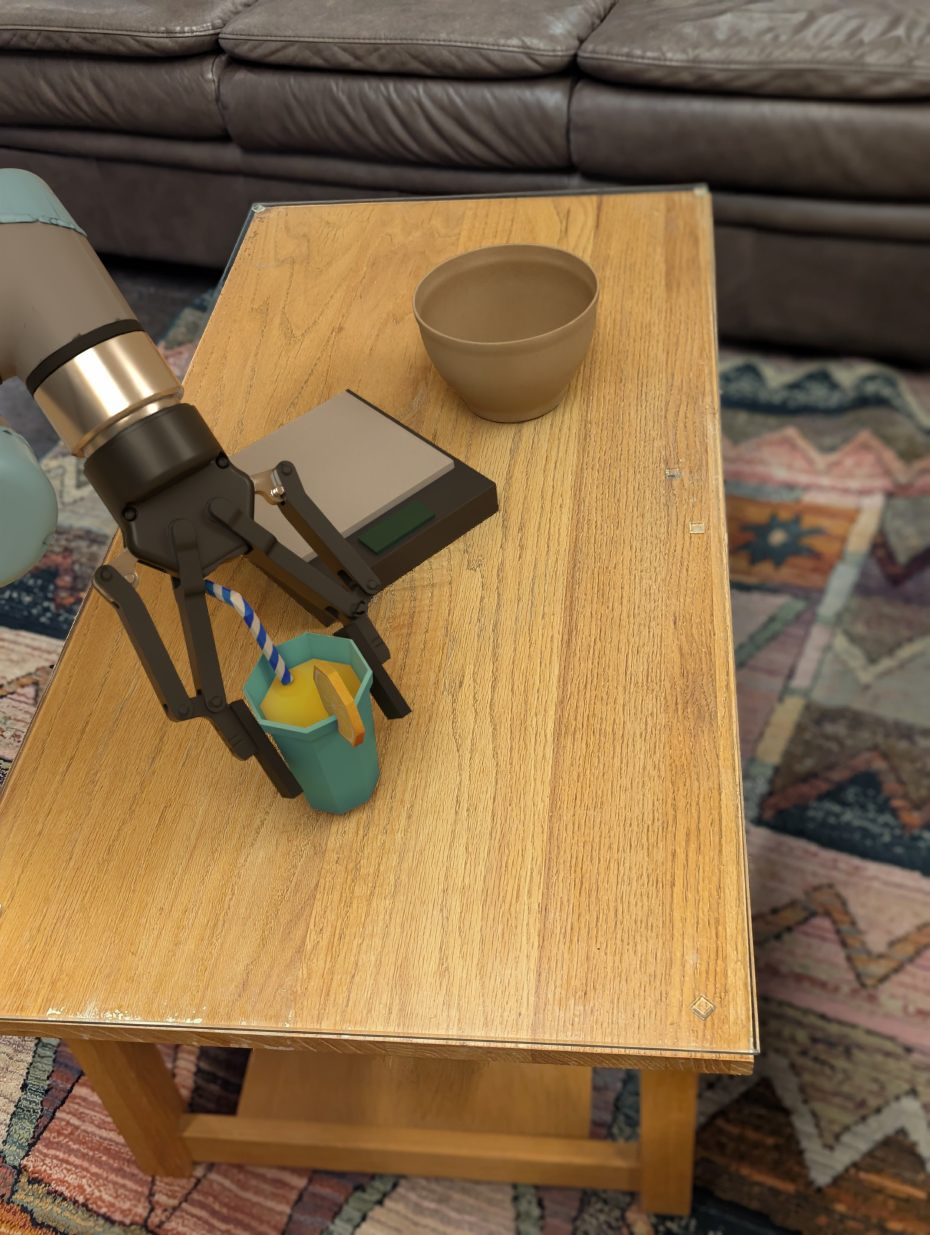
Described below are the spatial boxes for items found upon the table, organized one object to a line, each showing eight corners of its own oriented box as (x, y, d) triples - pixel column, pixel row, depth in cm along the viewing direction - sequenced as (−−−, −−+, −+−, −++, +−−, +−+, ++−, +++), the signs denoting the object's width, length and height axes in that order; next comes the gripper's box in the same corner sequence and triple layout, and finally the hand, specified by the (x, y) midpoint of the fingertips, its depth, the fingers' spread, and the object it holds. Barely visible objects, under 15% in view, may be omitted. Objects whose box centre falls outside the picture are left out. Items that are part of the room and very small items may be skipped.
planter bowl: (475, 332, 108) (464, 230, 100) (626, 362, 102) (627, 256, 94) (396, 425, 99) (377, 321, 91) (557, 465, 93) (552, 357, 85)
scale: (326, 627, 82) (317, 593, 80) (190, 510, 94) (178, 477, 91) (499, 510, 90) (495, 475, 87) (353, 414, 101) (346, 380, 98)
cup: (217, 762, 73) (148, 612, 62) (298, 688, 77) (246, 535, 66) (366, 872, 66) (318, 726, 55) (447, 785, 70) (417, 633, 59)
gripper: (263, 375, 70) (449, 667, 73) (-28, 531, 62) (194, 853, 65) (293, 333, 64) (497, 657, 66) (-30, 502, 55) (219, 863, 58)
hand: (347, 753), depth 66 cm, fingers closed on cup, 7 cm apart
